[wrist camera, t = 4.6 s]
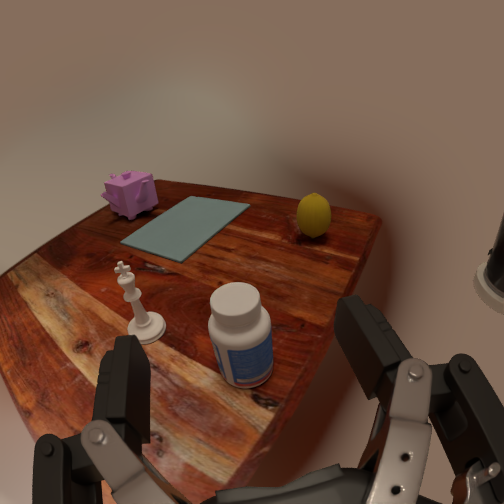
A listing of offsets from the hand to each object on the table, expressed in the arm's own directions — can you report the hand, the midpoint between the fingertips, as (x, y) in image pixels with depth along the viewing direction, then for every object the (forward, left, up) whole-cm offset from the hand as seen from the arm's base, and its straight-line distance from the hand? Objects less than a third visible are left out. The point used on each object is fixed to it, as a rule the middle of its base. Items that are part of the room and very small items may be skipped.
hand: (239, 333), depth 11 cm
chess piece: (+19, -7, -17) cm, 27 cm away
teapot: (+49, -31, -17) cm, 61 cm away
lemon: (+8, -35, -17) cm, 39 cm away
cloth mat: (+32, -31, -17) cm, 48 cm away
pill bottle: (+6, -8, -17) cm, 20 cm away
